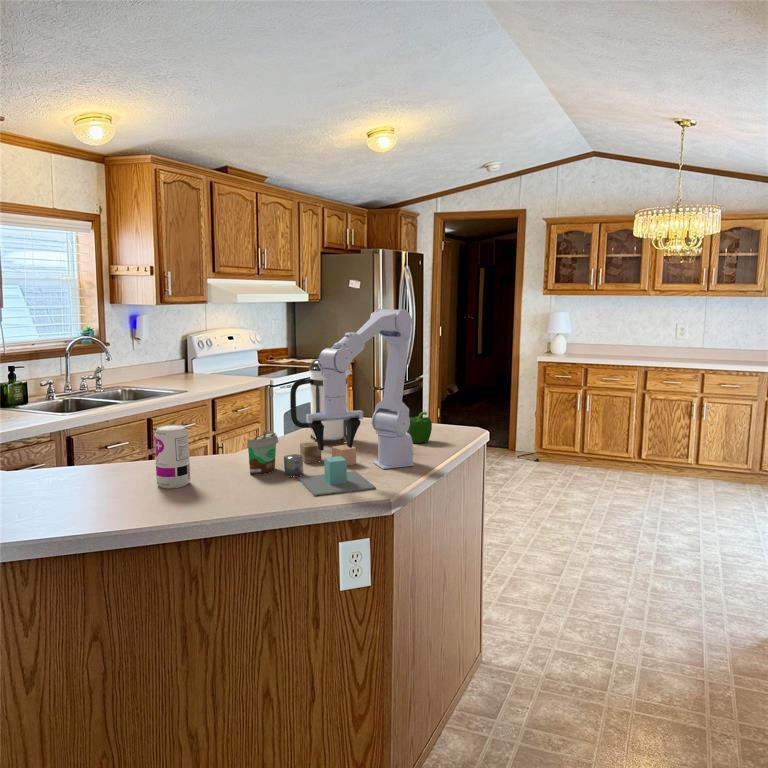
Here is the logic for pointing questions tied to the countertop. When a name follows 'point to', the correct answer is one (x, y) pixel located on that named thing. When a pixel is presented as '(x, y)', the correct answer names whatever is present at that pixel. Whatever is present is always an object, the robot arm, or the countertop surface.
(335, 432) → the coffee press
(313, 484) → the mat
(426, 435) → the bell pepper
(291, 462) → the metal canister
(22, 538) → the countertop surface
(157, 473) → the supplement can
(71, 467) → the countertop surface
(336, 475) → the teal block
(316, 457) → the walnut block
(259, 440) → the food container
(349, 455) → the terracotta block
